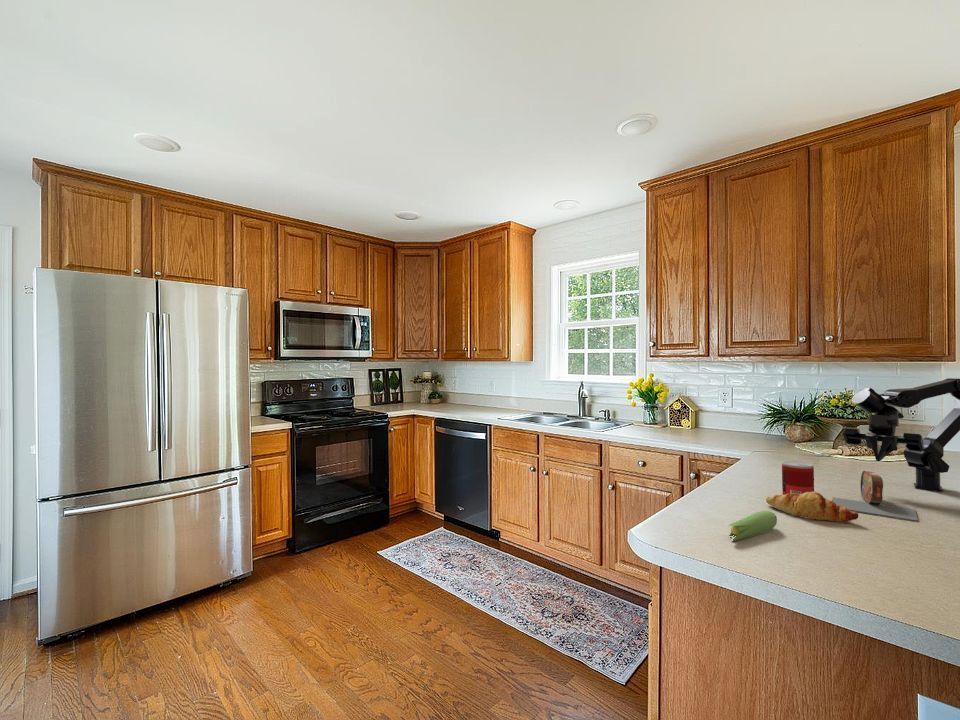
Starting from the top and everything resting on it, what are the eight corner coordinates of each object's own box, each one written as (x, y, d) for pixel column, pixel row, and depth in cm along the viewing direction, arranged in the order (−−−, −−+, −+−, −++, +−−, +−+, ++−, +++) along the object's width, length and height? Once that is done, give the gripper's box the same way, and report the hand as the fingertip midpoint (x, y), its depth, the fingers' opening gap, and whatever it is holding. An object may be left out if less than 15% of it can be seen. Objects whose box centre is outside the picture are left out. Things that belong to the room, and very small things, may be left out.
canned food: (820, 503, 133) (819, 466, 133) (793, 503, 133) (792, 466, 133) (802, 495, 140) (801, 460, 140) (776, 495, 140) (776, 460, 141)
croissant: (763, 519, 129) (757, 498, 127) (772, 497, 135) (767, 476, 133) (857, 539, 113) (852, 515, 111) (863, 513, 119) (859, 489, 117)
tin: (859, 495, 140) (859, 468, 141) (872, 496, 139) (872, 469, 139) (870, 506, 127) (870, 476, 128) (885, 508, 126) (884, 477, 126)
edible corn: (785, 513, 112) (766, 504, 116) (736, 531, 103) (718, 520, 106) (779, 531, 113) (761, 521, 117) (731, 550, 104) (713, 538, 108)
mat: (832, 498, 137) (832, 497, 137) (914, 510, 125) (914, 509, 125) (830, 507, 128) (830, 506, 128) (918, 521, 116) (918, 520, 116)
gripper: (843, 403, 150) (834, 440, 143) (921, 407, 135) (915, 448, 128) (850, 424, 154) (842, 461, 147) (926, 430, 140) (920, 471, 133)
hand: (877, 460), depth 139 cm, fingers closed
